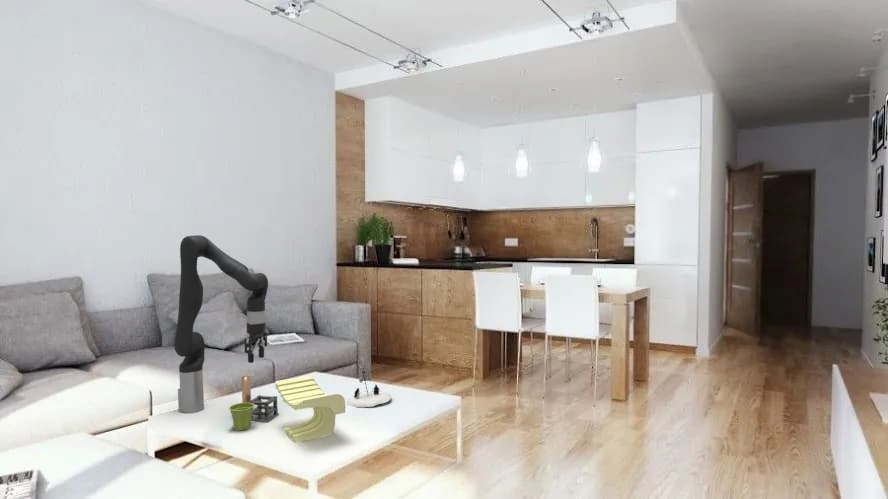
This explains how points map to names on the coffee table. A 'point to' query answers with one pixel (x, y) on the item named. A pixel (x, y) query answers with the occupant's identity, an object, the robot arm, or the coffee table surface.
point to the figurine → (368, 395)
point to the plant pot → (241, 415)
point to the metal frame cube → (269, 410)
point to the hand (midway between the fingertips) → (256, 360)
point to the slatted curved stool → (310, 396)
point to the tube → (246, 389)
